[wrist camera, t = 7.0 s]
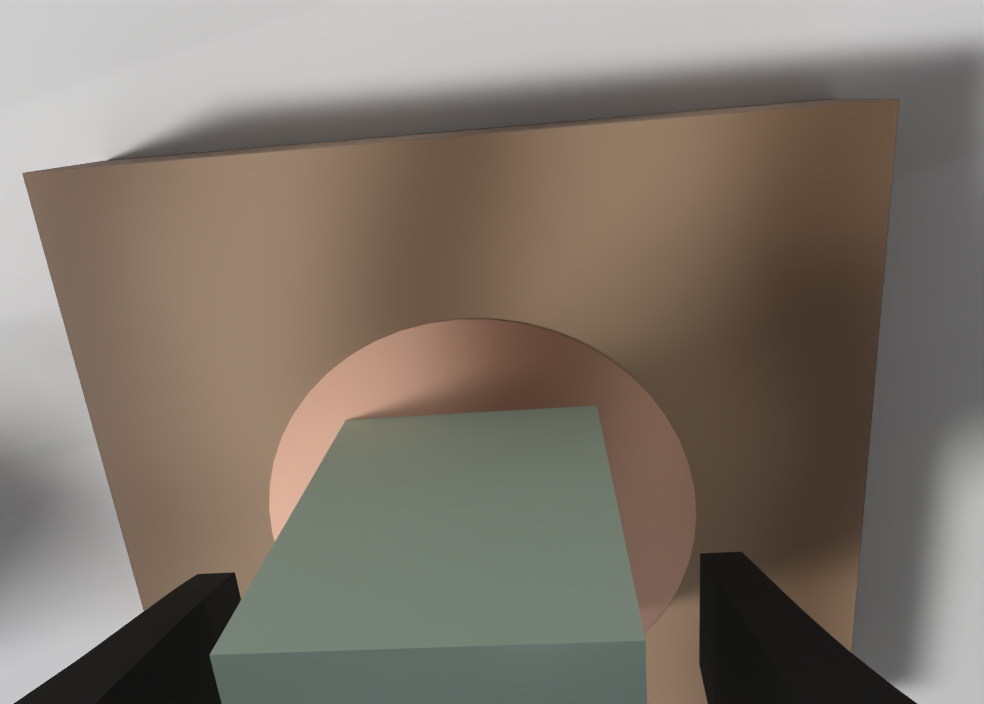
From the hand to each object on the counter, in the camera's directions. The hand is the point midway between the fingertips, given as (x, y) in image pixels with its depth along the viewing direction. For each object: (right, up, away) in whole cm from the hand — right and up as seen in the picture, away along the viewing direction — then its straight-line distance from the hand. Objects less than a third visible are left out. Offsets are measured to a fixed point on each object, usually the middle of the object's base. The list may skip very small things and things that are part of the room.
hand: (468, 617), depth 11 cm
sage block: (0, +1, +2) cm, 3 cm away
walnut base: (0, +2, +5) cm, 5 cm away
